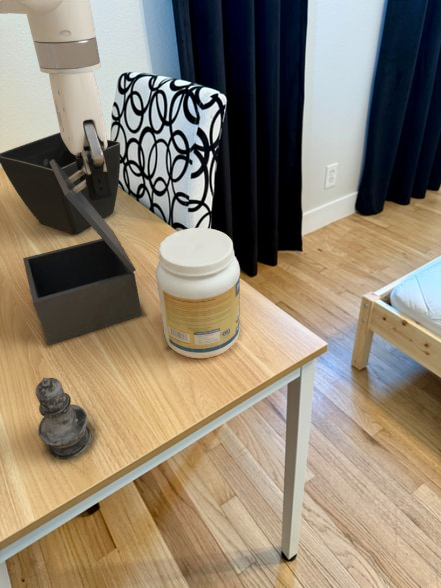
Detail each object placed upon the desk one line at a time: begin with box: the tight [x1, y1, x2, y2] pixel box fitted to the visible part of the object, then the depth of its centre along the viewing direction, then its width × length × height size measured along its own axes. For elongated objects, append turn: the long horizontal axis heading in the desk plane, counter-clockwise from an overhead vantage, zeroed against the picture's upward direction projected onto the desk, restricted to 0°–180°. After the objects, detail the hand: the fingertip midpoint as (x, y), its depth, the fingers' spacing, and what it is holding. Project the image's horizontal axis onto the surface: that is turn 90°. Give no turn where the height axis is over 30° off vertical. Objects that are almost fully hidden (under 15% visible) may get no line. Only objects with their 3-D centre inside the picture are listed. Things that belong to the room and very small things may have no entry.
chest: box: [22, 238, 143, 346], centre depth 73 cm, size 16×14×9 cm
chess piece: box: [34, 377, 92, 460], centre depth 51 cm, size 6×6×12 cm
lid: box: [50, 159, 137, 273], centre depth 67 cm, size 16×14×5 cm
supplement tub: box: [155, 227, 241, 359], centre depth 65 cm, size 12×12×17 cm
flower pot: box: [0, 131, 121, 235], centre depth 98 cm, size 19×19×17 cm
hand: (96, 189), depth 65 cm, fingers closed on lid, 5 cm apart
